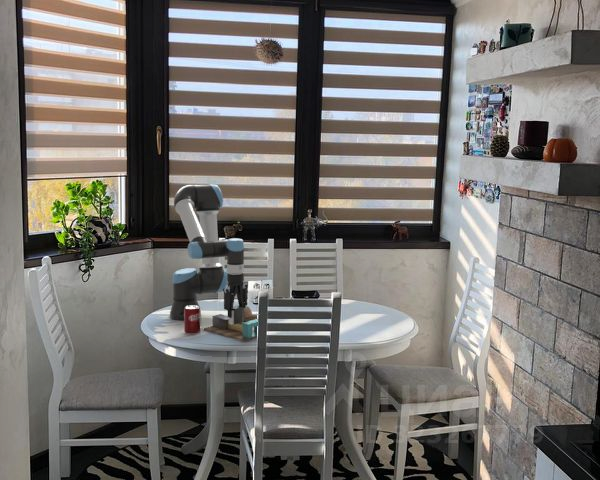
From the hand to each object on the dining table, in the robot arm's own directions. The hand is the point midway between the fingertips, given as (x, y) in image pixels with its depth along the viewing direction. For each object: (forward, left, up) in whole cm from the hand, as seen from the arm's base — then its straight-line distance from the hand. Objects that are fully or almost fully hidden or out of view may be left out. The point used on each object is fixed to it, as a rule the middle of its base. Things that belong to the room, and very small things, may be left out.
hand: (235, 322), depth 341 cm
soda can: (-15, -13, -5) cm, 21 cm away
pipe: (-9, +21, -5) cm, 24 cm away
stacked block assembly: (0, 0, -4) cm, 4 cm away
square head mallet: (-3, 0, -3) cm, 4 cm away
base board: (-1, 0, -5) cm, 5 cm away
